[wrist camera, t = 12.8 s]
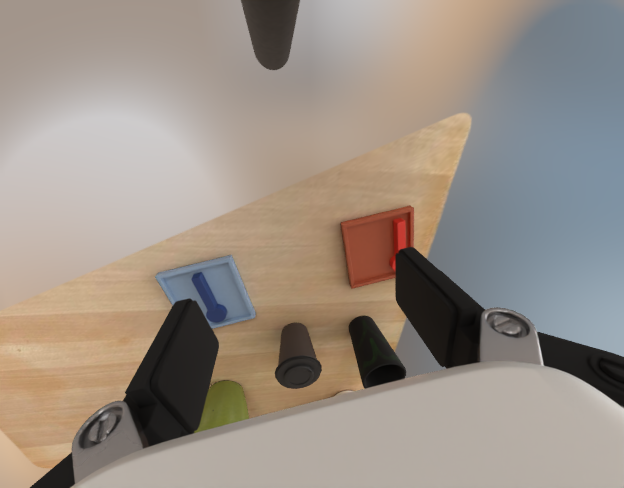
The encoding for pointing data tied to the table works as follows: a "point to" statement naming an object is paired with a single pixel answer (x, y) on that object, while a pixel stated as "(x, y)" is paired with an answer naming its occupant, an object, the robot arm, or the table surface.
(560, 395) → the robot arm
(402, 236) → the red spoon
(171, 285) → the blue tray
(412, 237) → the red tray
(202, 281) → the blue spoon
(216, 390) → the flower pot
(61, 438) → the table surface
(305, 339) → the coffee cup
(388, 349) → the cup
